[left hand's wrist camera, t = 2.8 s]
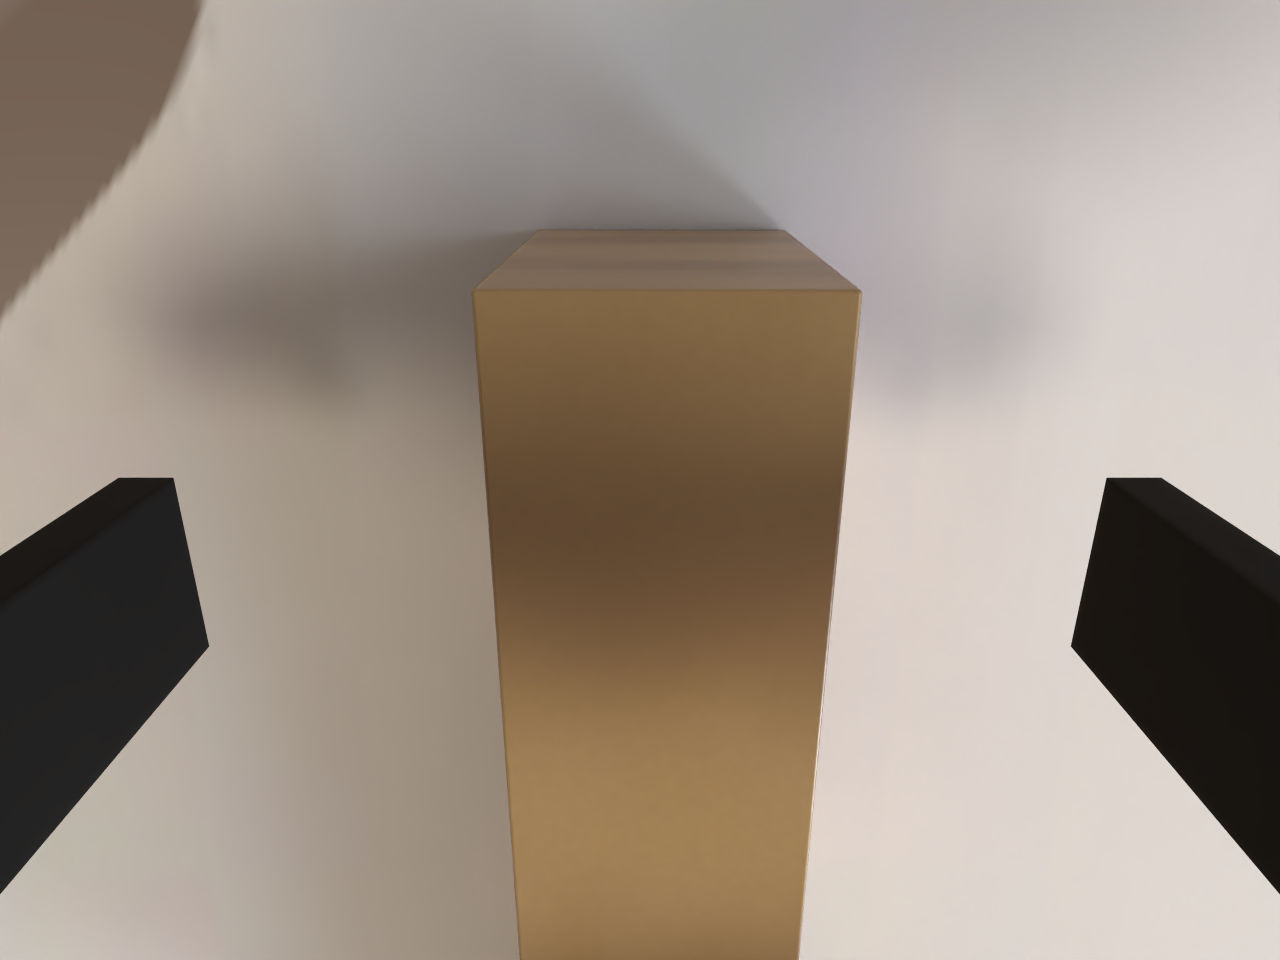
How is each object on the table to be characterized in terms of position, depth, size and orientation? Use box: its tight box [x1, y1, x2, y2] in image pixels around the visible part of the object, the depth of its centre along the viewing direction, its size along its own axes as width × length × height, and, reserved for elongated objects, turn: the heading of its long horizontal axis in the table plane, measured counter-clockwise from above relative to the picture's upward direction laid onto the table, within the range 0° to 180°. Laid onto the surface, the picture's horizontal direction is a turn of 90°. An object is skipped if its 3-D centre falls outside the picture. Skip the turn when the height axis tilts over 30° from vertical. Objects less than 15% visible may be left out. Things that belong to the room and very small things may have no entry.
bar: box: [472, 230, 862, 960], centre depth 22 cm, size 30×6×8 cm, turn 0°
